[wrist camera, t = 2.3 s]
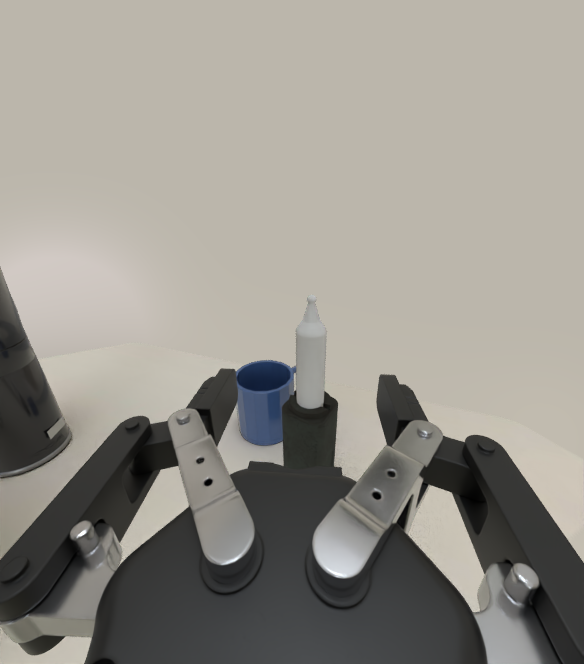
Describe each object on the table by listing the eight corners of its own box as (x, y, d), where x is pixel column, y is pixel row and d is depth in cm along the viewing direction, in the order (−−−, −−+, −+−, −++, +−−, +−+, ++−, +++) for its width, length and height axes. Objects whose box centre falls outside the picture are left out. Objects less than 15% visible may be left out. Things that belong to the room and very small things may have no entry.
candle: (302, 462, 38) (302, 285, 28) (335, 480, 35) (349, 292, 25) (280, 491, 34) (271, 297, 24) (316, 513, 31) (323, 307, 21)
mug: (262, 455, 39) (258, 402, 35) (228, 424, 45) (221, 375, 41) (319, 413, 47) (321, 366, 43) (284, 391, 53) (282, 348, 49)
